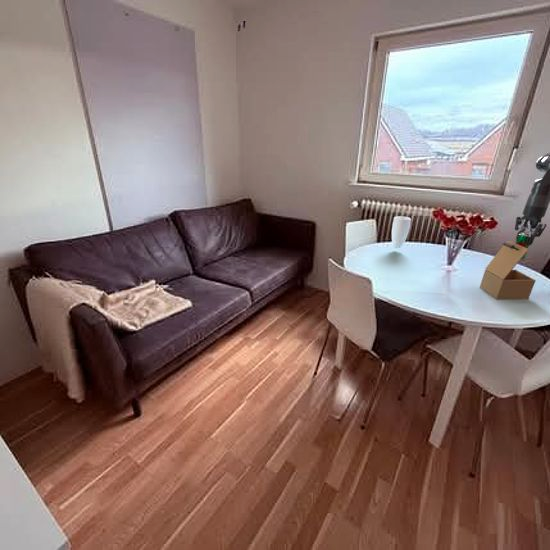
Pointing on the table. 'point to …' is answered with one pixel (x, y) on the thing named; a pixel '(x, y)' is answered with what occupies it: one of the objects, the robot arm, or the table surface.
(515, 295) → the carton
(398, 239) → the white vase
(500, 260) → the flap
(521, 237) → the soda can
